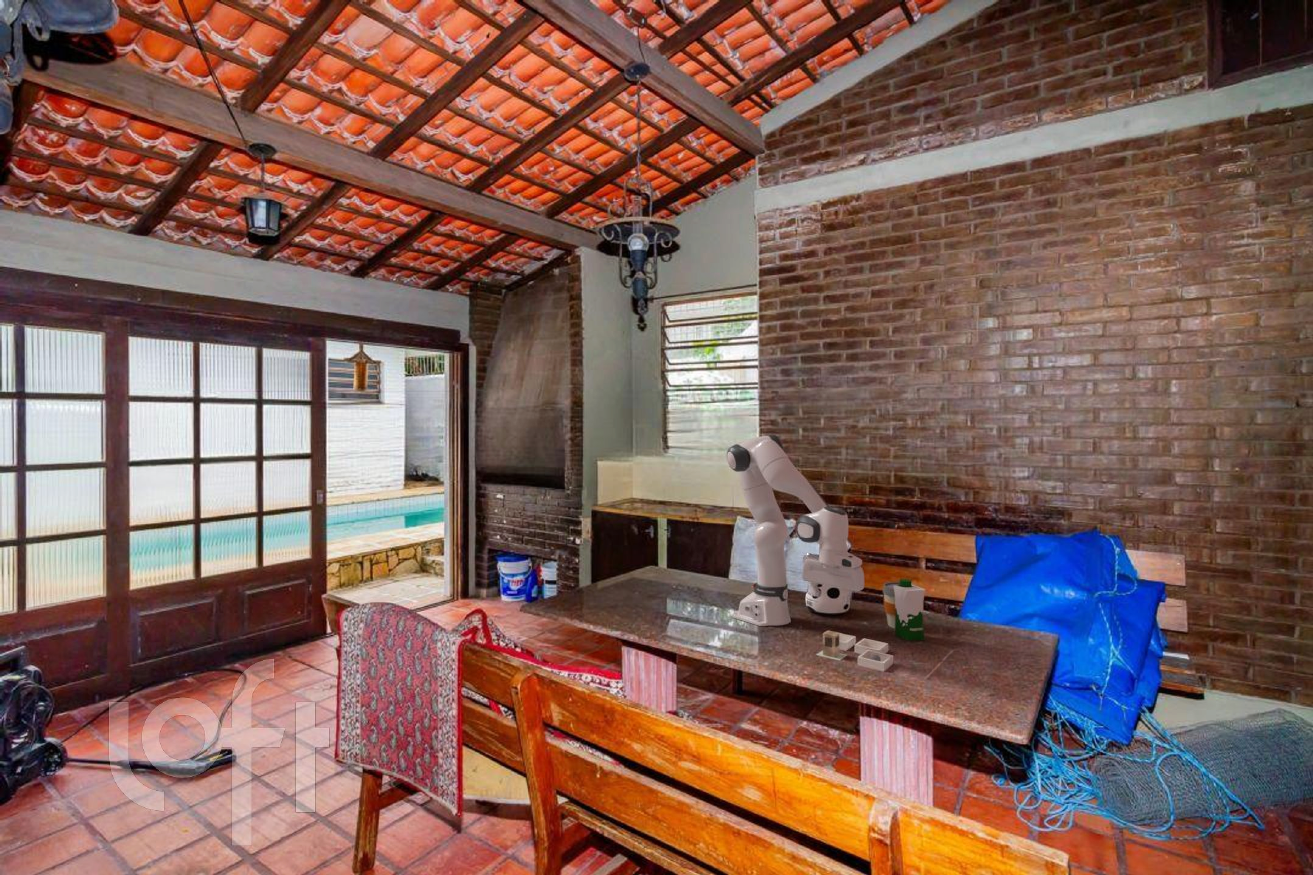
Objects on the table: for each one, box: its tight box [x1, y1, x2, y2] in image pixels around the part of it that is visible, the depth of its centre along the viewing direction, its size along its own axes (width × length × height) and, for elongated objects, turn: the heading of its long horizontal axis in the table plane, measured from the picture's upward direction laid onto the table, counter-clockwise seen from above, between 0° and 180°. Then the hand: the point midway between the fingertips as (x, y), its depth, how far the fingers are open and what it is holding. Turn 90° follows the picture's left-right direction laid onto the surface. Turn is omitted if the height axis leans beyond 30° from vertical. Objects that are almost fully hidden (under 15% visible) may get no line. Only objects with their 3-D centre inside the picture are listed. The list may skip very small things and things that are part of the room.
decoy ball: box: [870, 654, 881, 661], centre depth 194 cm, size 3×3×3 cm
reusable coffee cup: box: [882, 581, 917, 629], centre depth 233 cm, size 13×13×15 cm
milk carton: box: [893, 578, 926, 642], centre depth 219 cm, size 9×9×20 cm
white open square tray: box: [839, 632, 857, 651], centre depth 212 cm, size 8×8×3 cm
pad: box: [815, 649, 848, 661], centre depth 202 cm, size 8×6×1 cm
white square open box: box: [857, 650, 894, 672], centre depth 194 cm, size 8×8×3 cm
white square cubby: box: [854, 637, 889, 655], centre depth 205 cm, size 8×8×3 cm
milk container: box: [805, 581, 851, 616], centre depth 252 cm, size 17×17×18 cm
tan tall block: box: [822, 630, 841, 658], centre depth 202 cm, size 4×4×7 cm
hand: (831, 599), depth 202 cm, fingers open, 8 cm apart
